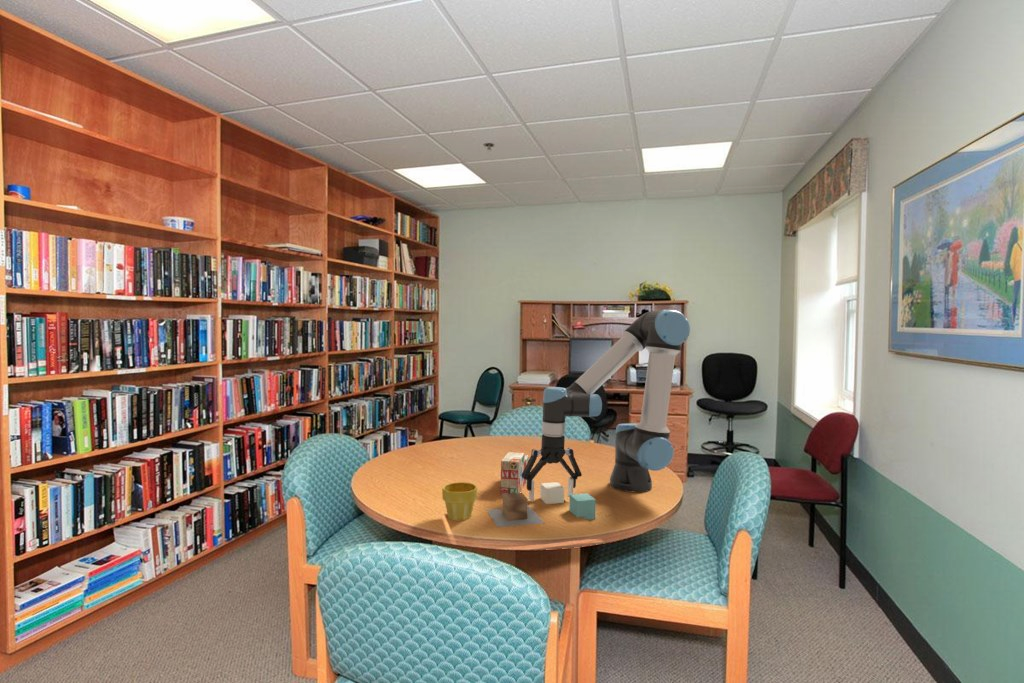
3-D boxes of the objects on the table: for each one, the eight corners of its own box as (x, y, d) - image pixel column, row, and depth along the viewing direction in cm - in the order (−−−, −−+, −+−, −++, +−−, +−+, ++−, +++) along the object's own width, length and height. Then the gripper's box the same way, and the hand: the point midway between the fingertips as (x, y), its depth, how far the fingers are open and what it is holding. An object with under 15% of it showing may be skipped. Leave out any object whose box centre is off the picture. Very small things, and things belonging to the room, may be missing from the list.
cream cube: (557, 499, 170) (557, 482, 170) (563, 505, 165) (564, 487, 164) (540, 501, 169) (540, 483, 169) (546, 507, 163) (546, 488, 163)
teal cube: (586, 512, 159) (587, 493, 159) (595, 519, 154) (595, 499, 153) (569, 513, 158) (569, 494, 157) (576, 521, 152) (577, 501, 152)
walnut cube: (521, 511, 155) (521, 492, 155) (527, 519, 150) (527, 498, 149) (502, 513, 154) (502, 493, 154) (507, 520, 148) (508, 500, 148)
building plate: (529, 509, 160) (529, 506, 160) (544, 526, 147) (544, 522, 147) (486, 513, 156) (486, 510, 156) (497, 530, 143) (497, 527, 143)
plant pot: (435, 517, 152) (436, 484, 152) (465, 510, 158) (466, 479, 158) (452, 528, 144) (452, 494, 144) (483, 521, 150) (483, 488, 150)
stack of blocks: (512, 478, 194) (513, 446, 194) (528, 479, 193) (529, 447, 193) (500, 495, 173) (500, 460, 173) (518, 497, 172) (518, 461, 172)
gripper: (583, 431, 173) (581, 493, 174) (513, 433, 166) (511, 497, 167) (593, 436, 166) (590, 500, 166) (520, 437, 159) (517, 505, 160)
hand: (550, 498), depth 167 cm, fingers open, 13 cm apart
